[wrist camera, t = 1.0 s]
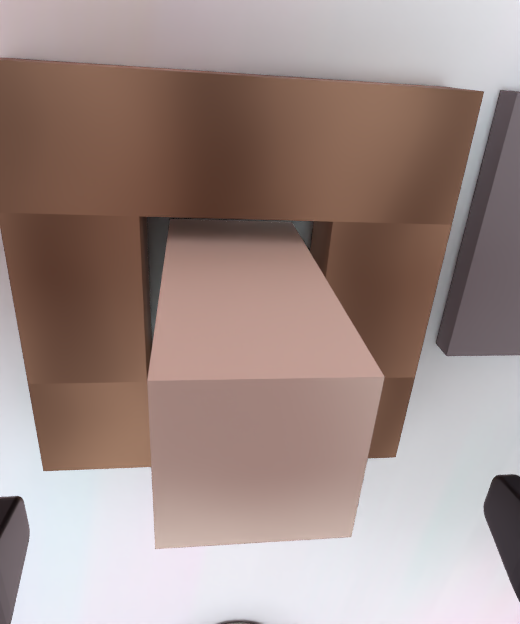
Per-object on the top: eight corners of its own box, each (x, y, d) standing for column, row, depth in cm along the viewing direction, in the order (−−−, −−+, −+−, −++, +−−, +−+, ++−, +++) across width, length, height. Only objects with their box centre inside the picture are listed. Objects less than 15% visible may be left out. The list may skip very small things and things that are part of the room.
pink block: (291, 221, 18) (384, 376, 9) (282, 327, 20) (351, 536, 11) (170, 218, 18) (147, 380, 9) (172, 327, 20) (154, 548, 11)
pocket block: (445, 86, 17) (483, 91, 15) (376, 418, 23) (395, 457, 21) (3, 57, 15) (-30, 58, 13) (59, 427, 21) (43, 471, 19)
